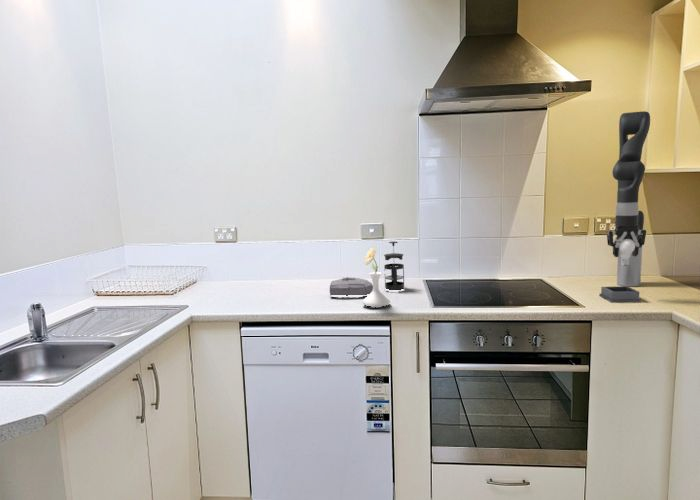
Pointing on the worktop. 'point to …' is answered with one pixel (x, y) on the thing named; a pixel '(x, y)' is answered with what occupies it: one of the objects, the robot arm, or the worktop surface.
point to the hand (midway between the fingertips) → (625, 256)
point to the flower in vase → (374, 284)
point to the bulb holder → (619, 294)
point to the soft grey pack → (351, 287)
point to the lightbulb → (626, 250)
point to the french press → (394, 271)
